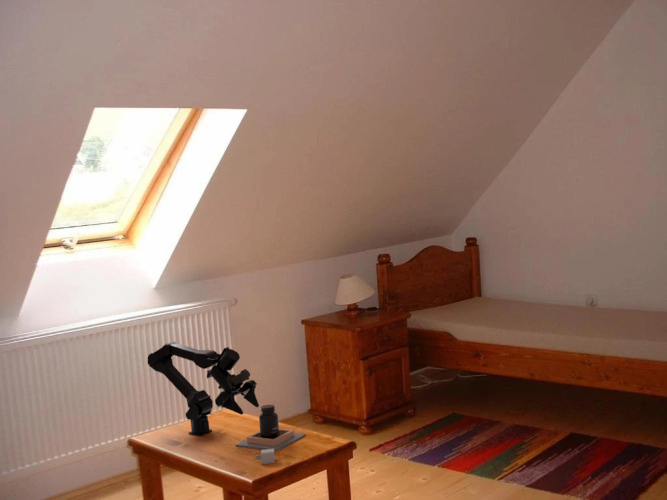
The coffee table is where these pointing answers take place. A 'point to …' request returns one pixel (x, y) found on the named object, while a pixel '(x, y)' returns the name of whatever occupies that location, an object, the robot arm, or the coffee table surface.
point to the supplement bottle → (269, 422)
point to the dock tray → (271, 440)
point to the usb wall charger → (266, 456)
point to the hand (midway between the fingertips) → (250, 410)
